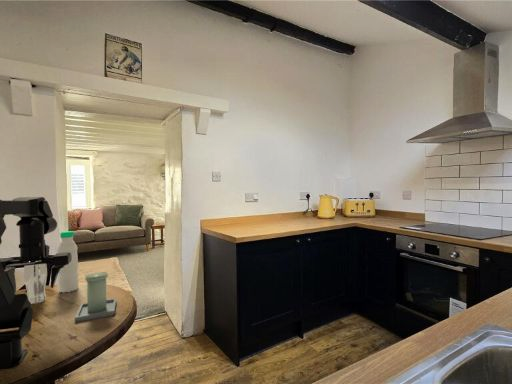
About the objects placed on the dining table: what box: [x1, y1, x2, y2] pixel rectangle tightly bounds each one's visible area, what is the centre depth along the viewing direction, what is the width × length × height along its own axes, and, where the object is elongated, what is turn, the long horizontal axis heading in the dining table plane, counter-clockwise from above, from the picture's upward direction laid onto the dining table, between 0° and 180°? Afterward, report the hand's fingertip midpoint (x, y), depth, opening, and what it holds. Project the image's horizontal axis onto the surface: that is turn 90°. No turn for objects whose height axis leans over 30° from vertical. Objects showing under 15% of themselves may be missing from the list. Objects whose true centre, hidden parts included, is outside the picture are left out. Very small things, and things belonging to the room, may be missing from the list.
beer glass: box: [23, 261, 48, 305], centre depth 106 cm, size 7×7×15 cm
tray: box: [74, 297, 117, 323], centre depth 97 cm, size 11×11×2 cm
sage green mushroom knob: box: [84, 271, 109, 313], centre depth 97 cm, size 7×7×12 cm
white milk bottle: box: [56, 230, 79, 294], centre depth 117 cm, size 7×7×25 cm
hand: (33, 290), depth 83 cm, fingers open, 9 cm apart
